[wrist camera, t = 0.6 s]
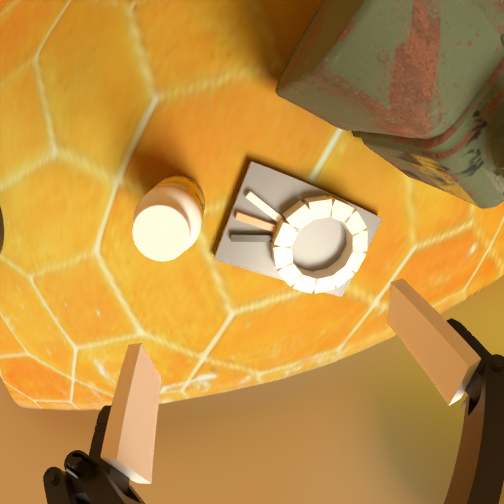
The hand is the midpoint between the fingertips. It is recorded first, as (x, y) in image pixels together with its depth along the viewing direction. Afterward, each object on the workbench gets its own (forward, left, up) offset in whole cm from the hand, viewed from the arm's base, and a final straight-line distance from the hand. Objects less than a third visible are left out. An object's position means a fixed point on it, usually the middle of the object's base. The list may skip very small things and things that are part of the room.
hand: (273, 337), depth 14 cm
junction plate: (+8, 0, -21) cm, 22 cm away
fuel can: (+9, +30, -21) cm, 38 cm away
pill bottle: (-7, -1, -21) cm, 22 cm away
